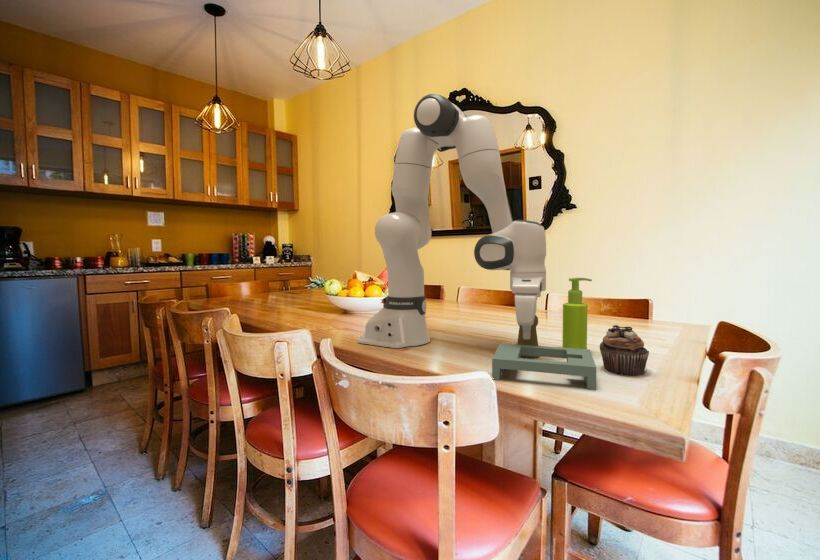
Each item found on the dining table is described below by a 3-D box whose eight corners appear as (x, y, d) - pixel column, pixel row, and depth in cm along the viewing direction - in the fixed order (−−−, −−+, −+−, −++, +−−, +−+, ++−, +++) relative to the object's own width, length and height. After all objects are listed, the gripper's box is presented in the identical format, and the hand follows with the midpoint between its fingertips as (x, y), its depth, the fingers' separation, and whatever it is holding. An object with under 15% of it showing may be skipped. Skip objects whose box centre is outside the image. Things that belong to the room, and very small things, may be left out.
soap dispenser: (594, 356, 96) (596, 278, 94) (567, 356, 96) (568, 278, 94) (584, 350, 102) (585, 276, 100) (559, 350, 102) (559, 277, 100)
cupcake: (650, 380, 78) (651, 332, 77) (598, 373, 83) (599, 328, 82) (647, 367, 86) (648, 324, 85) (600, 362, 91) (600, 321, 90)
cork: (541, 359, 94) (541, 316, 93) (516, 358, 95) (516, 315, 94) (538, 353, 100) (538, 312, 99) (514, 352, 101) (514, 311, 100)
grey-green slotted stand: (492, 379, 80) (492, 358, 80) (500, 361, 93) (500, 343, 93) (596, 389, 73) (596, 367, 73) (589, 368, 86) (589, 349, 86)
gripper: (518, 280, 107) (518, 327, 108) (511, 286, 88) (511, 344, 89) (541, 280, 105) (541, 329, 106) (539, 287, 86) (539, 346, 87)
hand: (527, 336), depth 97 cm, fingers closed on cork, 4 cm apart
